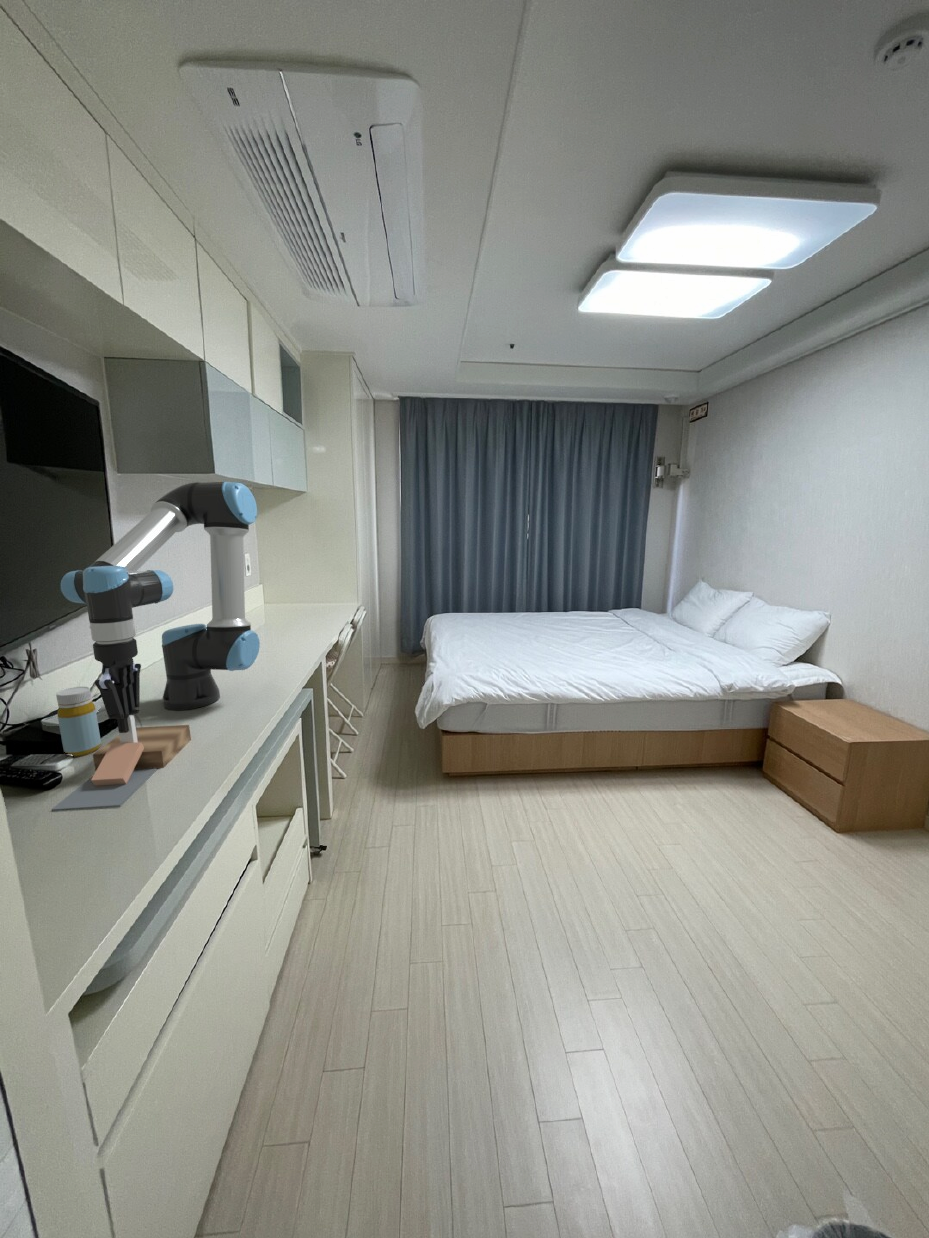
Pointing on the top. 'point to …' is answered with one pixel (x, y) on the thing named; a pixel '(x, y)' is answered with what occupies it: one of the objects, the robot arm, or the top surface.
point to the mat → (104, 793)
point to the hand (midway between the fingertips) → (129, 743)
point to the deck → (154, 745)
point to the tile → (118, 764)
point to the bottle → (78, 721)
